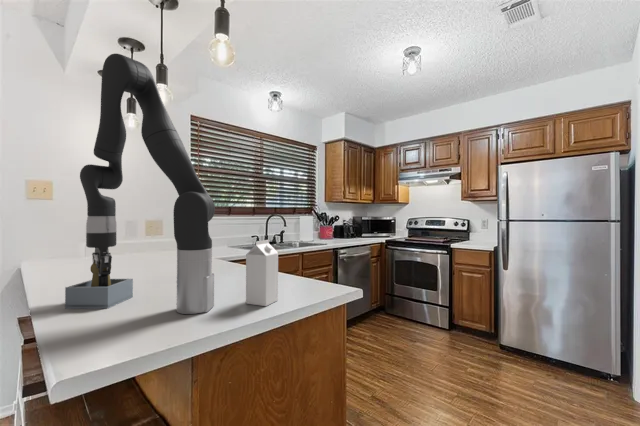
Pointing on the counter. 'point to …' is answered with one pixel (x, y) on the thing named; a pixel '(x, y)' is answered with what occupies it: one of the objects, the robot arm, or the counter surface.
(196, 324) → the counter surface
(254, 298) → the milk carton
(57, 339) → the counter surface
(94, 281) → the cork
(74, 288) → the crate
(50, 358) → the counter surface
